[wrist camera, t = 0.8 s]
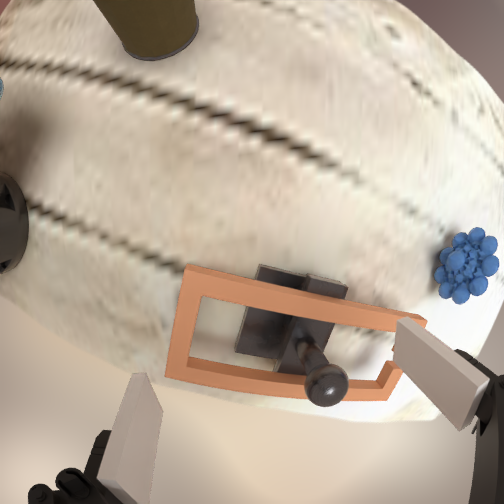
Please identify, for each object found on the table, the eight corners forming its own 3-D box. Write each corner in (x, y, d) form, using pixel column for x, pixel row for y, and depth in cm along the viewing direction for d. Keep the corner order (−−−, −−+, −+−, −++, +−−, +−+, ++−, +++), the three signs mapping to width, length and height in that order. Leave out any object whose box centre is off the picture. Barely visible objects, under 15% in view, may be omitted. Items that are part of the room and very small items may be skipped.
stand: (231, 356, 37) (240, 450, 21) (262, 252, 35) (297, 306, 18) (311, 368, 39) (353, 450, 23) (348, 273, 37) (424, 328, 20)
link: (167, 366, 29) (164, 376, 27) (187, 263, 27) (184, 269, 25) (380, 392, 33) (386, 400, 31) (418, 314, 31) (427, 320, 29)
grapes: (435, 211, 36) (493, 222, 25) (460, 226, 37) (513, 239, 26) (410, 284, 38) (462, 313, 27) (437, 293, 39) (486, 321, 28)
